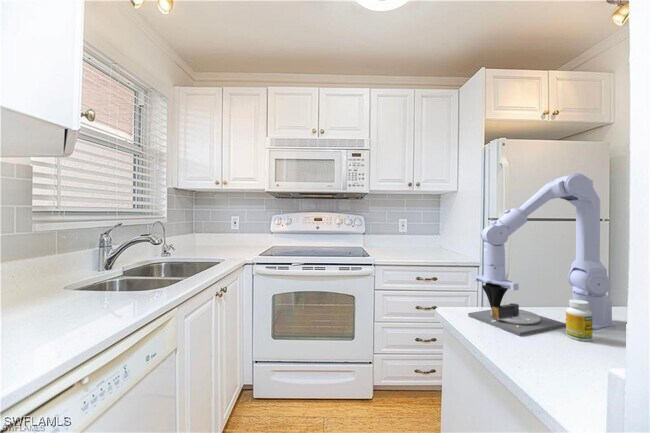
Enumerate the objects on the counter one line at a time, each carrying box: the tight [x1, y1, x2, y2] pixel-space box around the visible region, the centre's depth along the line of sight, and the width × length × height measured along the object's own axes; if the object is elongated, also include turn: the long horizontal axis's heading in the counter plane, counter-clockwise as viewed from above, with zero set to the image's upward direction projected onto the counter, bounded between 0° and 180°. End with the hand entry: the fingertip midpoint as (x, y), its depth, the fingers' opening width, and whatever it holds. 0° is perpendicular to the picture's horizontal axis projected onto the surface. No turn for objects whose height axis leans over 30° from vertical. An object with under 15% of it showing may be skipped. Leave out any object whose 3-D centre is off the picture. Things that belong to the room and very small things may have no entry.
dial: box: [490, 303, 540, 325], centre depth 96 cm, size 14×13×4 cm
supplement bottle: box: [565, 298, 593, 342], centre depth 83 cm, size 5×5×10 cm
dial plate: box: [467, 308, 566, 337], centre depth 96 cm, size 18×18×1 cm
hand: (495, 308), depth 98 cm, fingers closed
